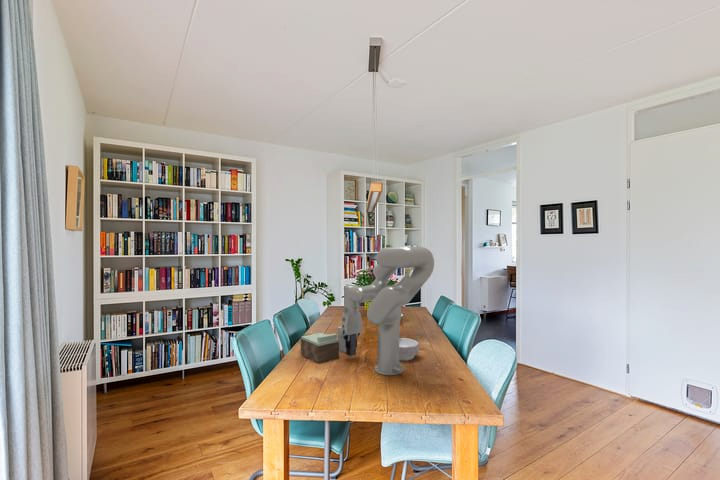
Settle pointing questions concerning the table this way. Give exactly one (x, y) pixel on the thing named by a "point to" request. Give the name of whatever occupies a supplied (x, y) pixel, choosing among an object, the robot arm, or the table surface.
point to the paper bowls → (407, 349)
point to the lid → (321, 339)
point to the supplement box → (341, 341)
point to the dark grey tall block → (352, 346)
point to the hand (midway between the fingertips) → (351, 347)
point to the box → (319, 351)
